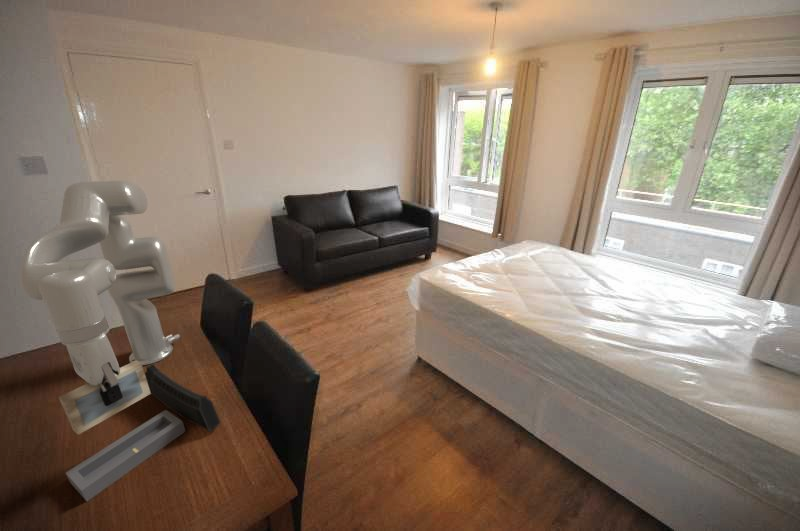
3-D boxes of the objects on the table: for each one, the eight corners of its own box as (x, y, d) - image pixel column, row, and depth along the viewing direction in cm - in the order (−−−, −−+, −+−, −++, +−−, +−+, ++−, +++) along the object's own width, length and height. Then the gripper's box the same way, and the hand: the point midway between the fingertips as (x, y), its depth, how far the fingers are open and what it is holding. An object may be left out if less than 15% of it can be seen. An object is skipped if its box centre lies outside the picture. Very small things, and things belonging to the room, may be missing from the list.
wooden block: (145, 390, 83) (136, 360, 79) (151, 393, 81) (141, 363, 78) (73, 430, 71) (58, 397, 68) (78, 435, 70) (63, 401, 67)
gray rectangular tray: (168, 419, 92) (165, 409, 91) (185, 431, 89) (182, 421, 87) (70, 483, 75) (65, 472, 74) (86, 501, 71) (81, 490, 70)
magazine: (221, 404, 86) (151, 344, 95) (210, 413, 83) (138, 350, 92) (220, 442, 94) (155, 383, 103) (209, 451, 91) (144, 390, 100)
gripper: (43, 326, 69) (73, 396, 76) (77, 350, 62) (107, 425, 68) (88, 311, 75) (113, 377, 82) (124, 331, 68) (148, 401, 74)
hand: (110, 398), depth 75 cm, fingers closed on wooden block, 2 cm apart
